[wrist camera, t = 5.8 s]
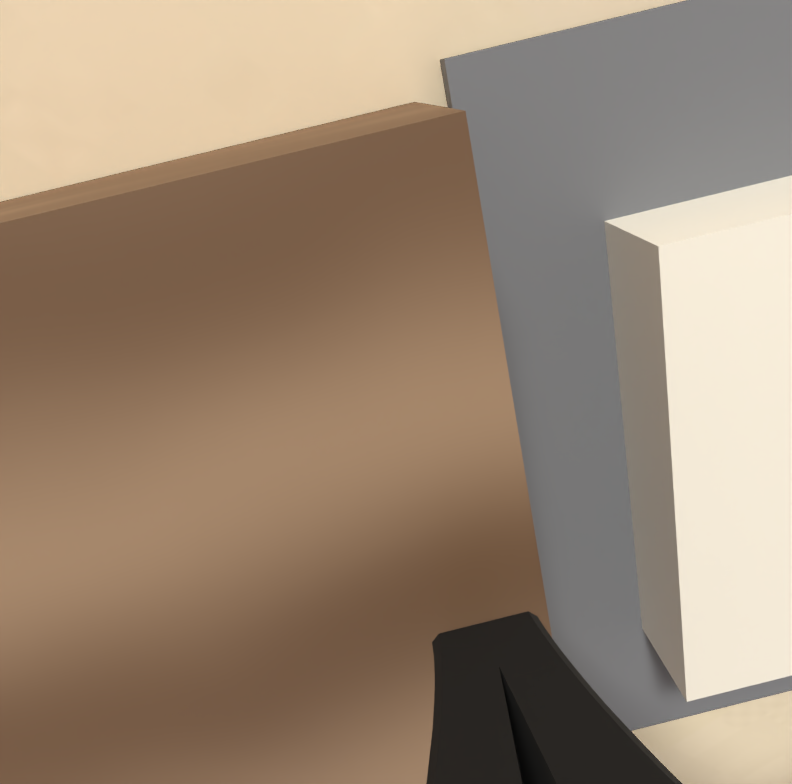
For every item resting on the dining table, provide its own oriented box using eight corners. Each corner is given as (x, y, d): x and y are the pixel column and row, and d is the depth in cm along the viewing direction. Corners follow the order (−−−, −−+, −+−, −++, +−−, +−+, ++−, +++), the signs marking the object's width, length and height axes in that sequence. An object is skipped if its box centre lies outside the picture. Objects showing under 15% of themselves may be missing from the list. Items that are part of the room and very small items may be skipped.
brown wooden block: (534, 724, 17) (595, 902, 13) (81, 838, 17) (17, 1050, 13) (414, 102, 11) (465, 110, 7) (-279, 269, 11) (-578, 362, 7)
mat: (957, 632, 17) (971, 645, 17) (557, 734, 17) (562, 747, 17) (1068, -92, 11) (1095, -98, 11) (439, 60, 11) (444, 58, 10)
